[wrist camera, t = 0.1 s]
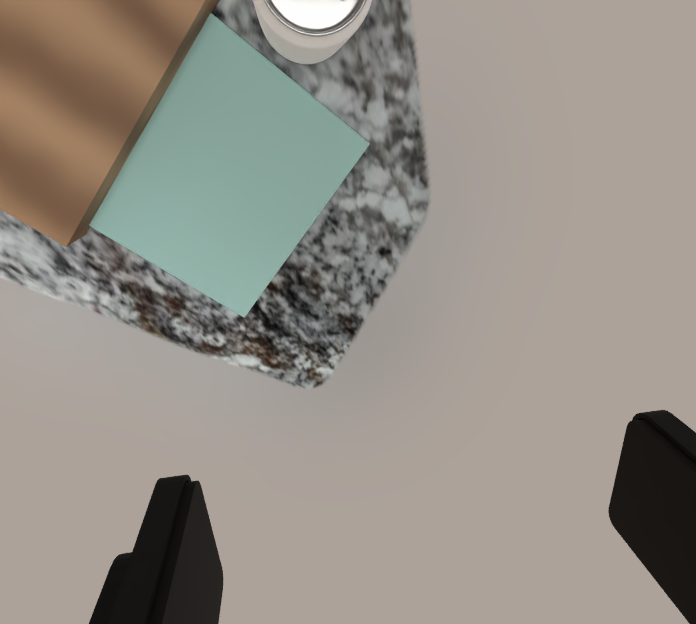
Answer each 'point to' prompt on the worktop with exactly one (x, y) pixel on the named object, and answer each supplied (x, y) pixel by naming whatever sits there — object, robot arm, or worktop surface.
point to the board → (81, 98)
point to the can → (310, 26)
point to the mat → (228, 171)
